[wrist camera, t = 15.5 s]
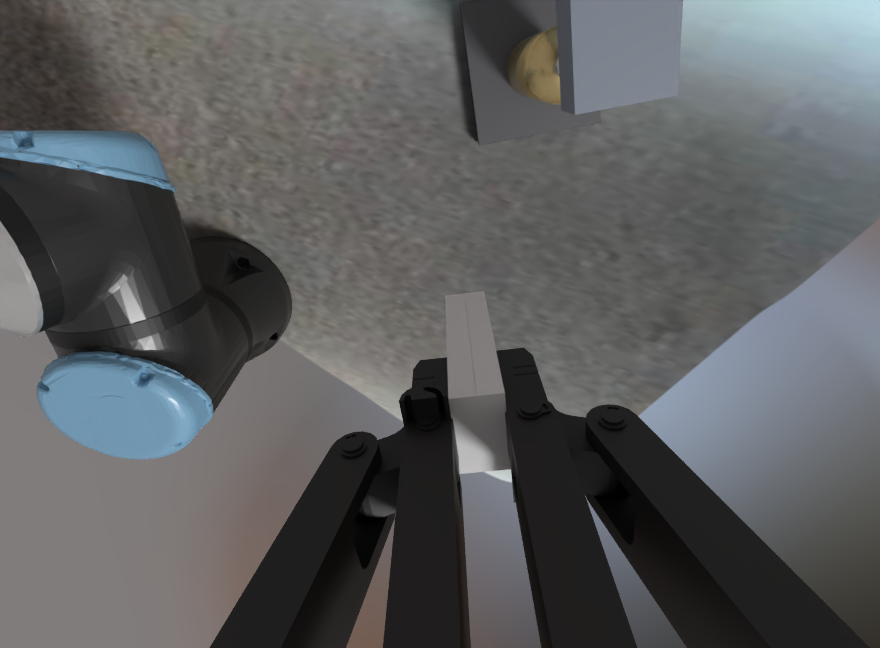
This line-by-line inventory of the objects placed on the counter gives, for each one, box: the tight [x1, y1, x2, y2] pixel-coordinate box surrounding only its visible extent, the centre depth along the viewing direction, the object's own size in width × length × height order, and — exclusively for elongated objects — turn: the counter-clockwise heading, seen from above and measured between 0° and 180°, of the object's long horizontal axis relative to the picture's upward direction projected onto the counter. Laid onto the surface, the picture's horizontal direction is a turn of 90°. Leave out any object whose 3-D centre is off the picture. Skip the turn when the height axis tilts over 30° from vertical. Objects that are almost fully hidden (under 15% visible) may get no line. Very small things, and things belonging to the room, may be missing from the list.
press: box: [460, 0, 683, 146], centre depth 32 cm, size 15×15×28 cm
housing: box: [506, 26, 561, 105], centre depth 38 cm, size 5×5×13 cm
